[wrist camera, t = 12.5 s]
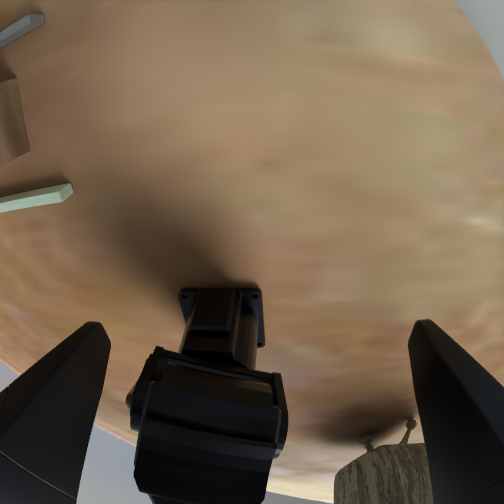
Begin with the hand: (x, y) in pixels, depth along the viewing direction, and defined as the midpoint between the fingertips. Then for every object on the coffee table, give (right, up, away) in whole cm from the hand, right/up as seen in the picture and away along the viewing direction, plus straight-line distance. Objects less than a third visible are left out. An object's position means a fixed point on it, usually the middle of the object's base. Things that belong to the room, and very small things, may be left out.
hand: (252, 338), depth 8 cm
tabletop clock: (+19, -25, +31) cm, 44 cm away
